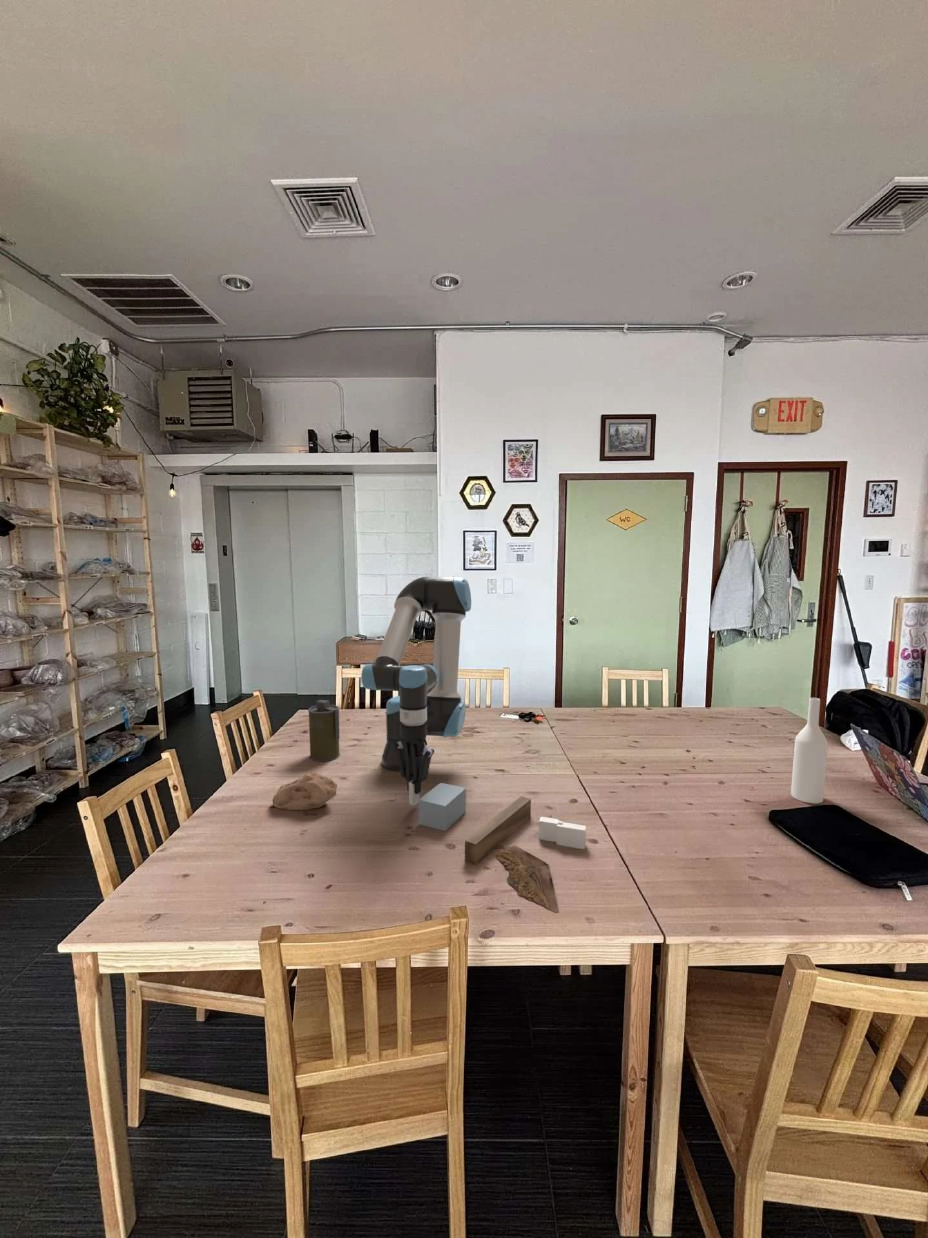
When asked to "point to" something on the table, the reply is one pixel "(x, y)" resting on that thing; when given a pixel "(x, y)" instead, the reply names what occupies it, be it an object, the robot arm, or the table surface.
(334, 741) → the canister
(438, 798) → the block
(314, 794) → the rock
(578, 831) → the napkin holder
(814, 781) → the bottle
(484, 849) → the stop board
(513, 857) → the wooden fragment
